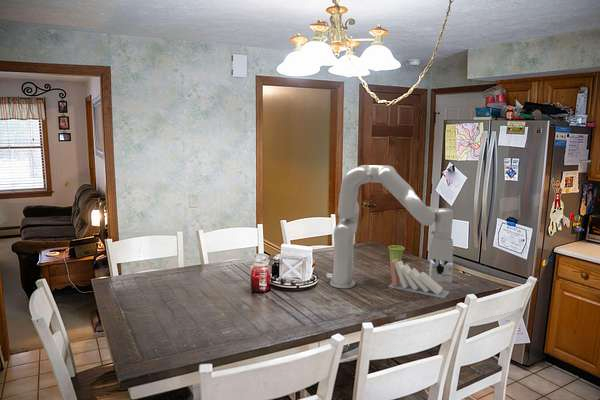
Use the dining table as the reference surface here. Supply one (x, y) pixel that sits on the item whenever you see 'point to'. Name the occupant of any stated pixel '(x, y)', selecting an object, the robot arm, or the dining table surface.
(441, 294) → the board
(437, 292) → the domino
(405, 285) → the domino
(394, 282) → the domino
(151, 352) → the dining table surface
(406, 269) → the domino
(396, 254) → the plant pot
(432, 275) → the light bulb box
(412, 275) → the domino
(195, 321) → the dining table surface
